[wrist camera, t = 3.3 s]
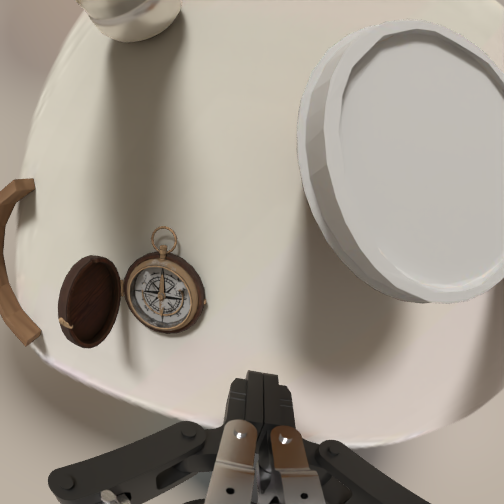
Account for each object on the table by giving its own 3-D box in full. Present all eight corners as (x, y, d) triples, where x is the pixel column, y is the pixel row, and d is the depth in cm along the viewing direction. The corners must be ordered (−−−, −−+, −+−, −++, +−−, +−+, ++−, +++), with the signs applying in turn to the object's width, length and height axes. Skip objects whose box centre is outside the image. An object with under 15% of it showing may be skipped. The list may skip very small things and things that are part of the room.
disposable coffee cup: (432, 168, 17) (562, 170, 5) (355, 268, 19) (448, 367, 7) (336, 76, 16) (409, -29, 4) (248, 177, 18) (215, 162, 6)
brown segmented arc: (36, 178, 18) (17, 179, 16) (42, 337, 22) (28, 348, 20) (-1, 175, 18) (-18, 176, 16) (6, 317, 22) (-7, 326, 20)
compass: (204, 334, 21) (179, 398, 14) (112, 314, 21) (63, 361, 14) (214, 230, 19) (184, 257, 12) (111, 216, 19) (46, 234, 12)
